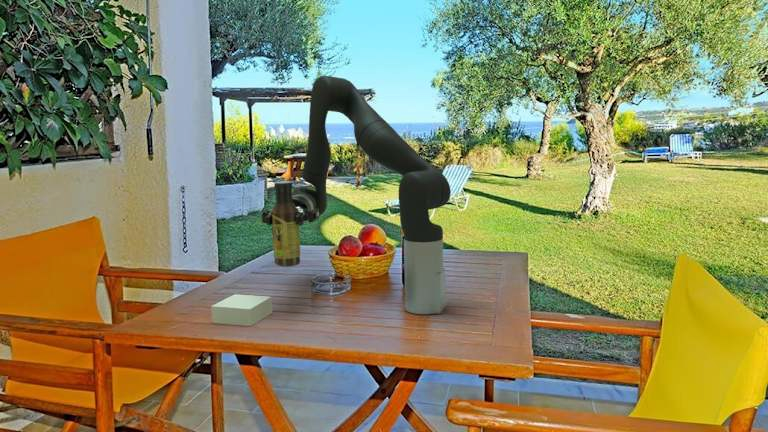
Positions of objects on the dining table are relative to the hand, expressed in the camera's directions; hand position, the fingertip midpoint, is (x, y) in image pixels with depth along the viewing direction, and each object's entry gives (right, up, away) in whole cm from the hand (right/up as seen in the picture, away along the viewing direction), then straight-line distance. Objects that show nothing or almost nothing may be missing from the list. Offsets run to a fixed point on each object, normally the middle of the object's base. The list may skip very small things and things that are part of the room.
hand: (283, 220), depth 136 cm
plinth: (-10, -23, +2) cm, 25 cm away
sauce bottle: (0, -11, +4) cm, 11 cm away
